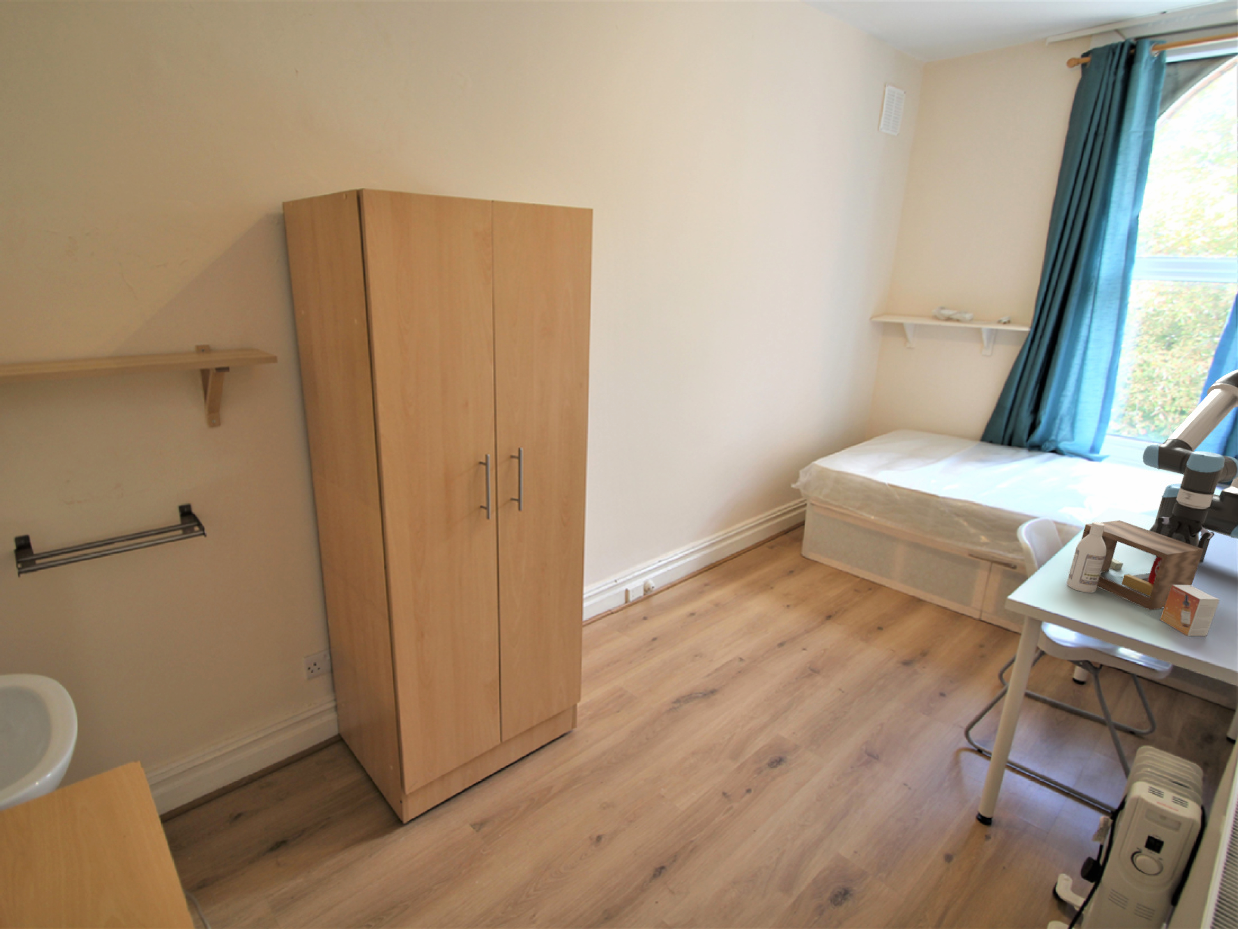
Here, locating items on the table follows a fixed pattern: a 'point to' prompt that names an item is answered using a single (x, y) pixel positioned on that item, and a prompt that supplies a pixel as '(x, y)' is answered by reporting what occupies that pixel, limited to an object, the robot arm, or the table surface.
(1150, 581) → the soda can
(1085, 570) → the bath foam
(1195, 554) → the cubby
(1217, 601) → the small box
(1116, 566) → the plain stick
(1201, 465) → the robot arm
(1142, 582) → the crook
